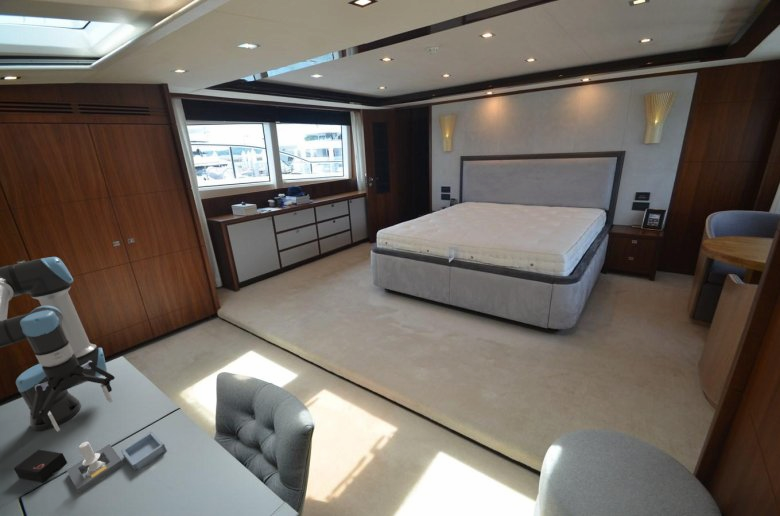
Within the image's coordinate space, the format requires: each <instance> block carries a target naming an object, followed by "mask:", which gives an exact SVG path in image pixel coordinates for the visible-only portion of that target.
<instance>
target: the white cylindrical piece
mask: <svg viewBox="0 0 780 516" xmlns="http://www.w3.org/2000/svg"><path fill="white" fill-rule="evenodd" d="M78 450H79V452H80V454H81V455H82V456H83V458H84V459H85V460H84V459H83V460H84V461H83V460H82V461H83V463H82V465H84V466H87V465H89V467H88V468H87V471H86V473H85V475H86V477H88V476H90V475H91V474H93V473H94V472H96V471H97V470H99V469H100V468H102V467H104V466H105V465H107V462H106V461H101V460H99V461H97V460H98V459H99V457H100V454H99V453H96V452H95V451H94V449H93V448H92V445H91V444H90V442H89V441H84V442H81V444H80V445H79V446H78Z"/></svg>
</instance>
